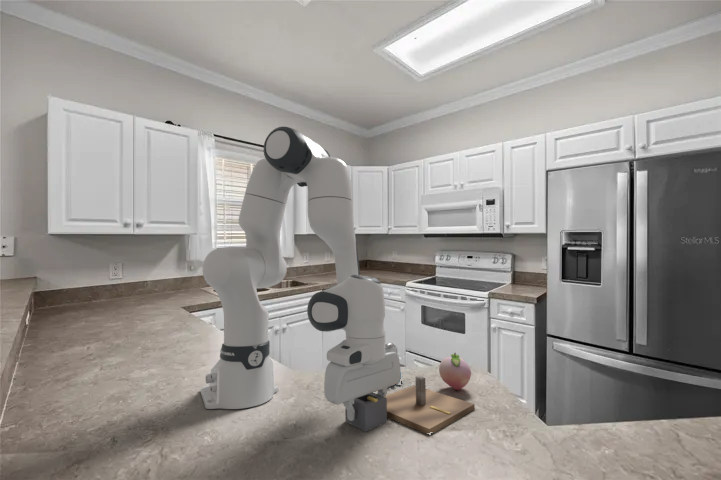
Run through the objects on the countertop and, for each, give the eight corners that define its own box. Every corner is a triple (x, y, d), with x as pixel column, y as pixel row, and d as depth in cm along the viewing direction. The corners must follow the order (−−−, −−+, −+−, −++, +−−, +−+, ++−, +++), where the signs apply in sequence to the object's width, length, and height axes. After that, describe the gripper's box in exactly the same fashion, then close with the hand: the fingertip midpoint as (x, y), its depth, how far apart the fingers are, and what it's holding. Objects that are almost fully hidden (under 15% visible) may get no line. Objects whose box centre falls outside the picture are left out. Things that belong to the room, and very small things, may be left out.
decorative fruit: (437, 383, 93) (436, 348, 94) (466, 384, 93) (464, 349, 94) (442, 396, 84) (441, 356, 85) (474, 396, 83) (473, 357, 84)
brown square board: (366, 408, 77) (366, 376, 77) (413, 389, 89) (413, 362, 90) (429, 435, 63) (428, 397, 64) (474, 409, 76) (473, 377, 76)
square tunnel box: (345, 421, 70) (345, 395, 70) (366, 412, 74) (366, 388, 75) (365, 431, 65) (365, 403, 66) (387, 421, 69) (386, 395, 70)
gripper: (386, 339, 81) (387, 397, 79) (320, 353, 67) (319, 423, 65) (406, 343, 76) (407, 404, 74) (339, 359, 62) (338, 434, 61)
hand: (365, 413), depth 70 cm, fingers closed on square tunnel box, 6 cm apart
